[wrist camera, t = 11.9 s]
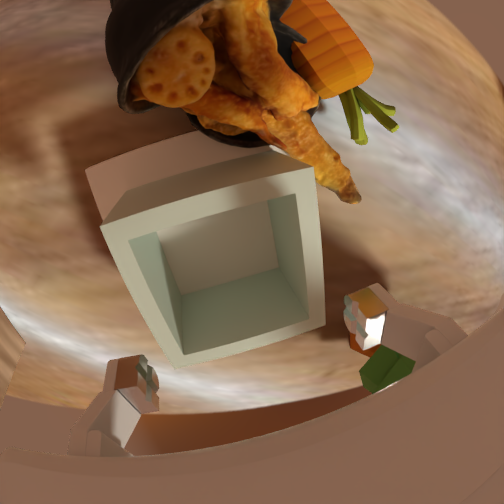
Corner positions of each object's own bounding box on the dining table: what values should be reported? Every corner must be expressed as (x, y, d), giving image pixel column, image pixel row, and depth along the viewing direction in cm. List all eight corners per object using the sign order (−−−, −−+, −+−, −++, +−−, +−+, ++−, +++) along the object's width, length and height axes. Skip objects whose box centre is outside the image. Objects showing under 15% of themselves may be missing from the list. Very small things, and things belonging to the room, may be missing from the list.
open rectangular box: (294, 110, 17) (351, 111, 11) (316, 281, 24) (355, 335, 17) (89, 166, 15) (41, 196, 9) (158, 327, 22) (156, 394, 16)
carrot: (241, -68, 6) (405, 146, 11) (288, -54, 9) (416, 121, 14) (193, -17, 10) (329, 169, 15) (242, -16, 13) (355, 141, 18)
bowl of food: (127, -102, 1) (455, 307, 8) (259, -50, 9) (426, 170, 15) (33, 71, 7) (266, 337, 14) (169, 35, 15) (316, 214, 21)
